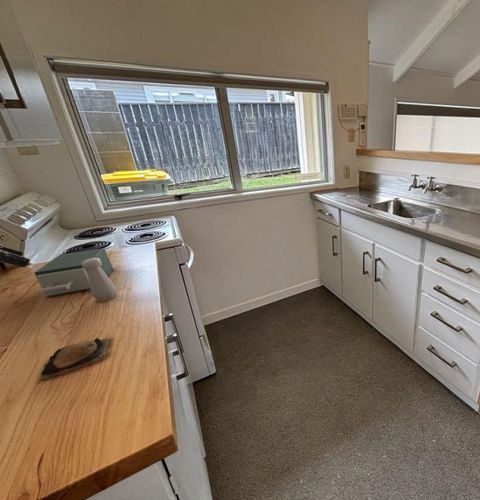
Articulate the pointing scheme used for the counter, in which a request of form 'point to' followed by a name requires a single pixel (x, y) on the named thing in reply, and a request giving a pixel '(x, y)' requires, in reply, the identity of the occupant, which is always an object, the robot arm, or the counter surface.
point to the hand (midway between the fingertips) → (24, 259)
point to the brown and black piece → (75, 357)
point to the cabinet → (76, 263)
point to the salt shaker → (98, 280)
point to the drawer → (63, 281)
